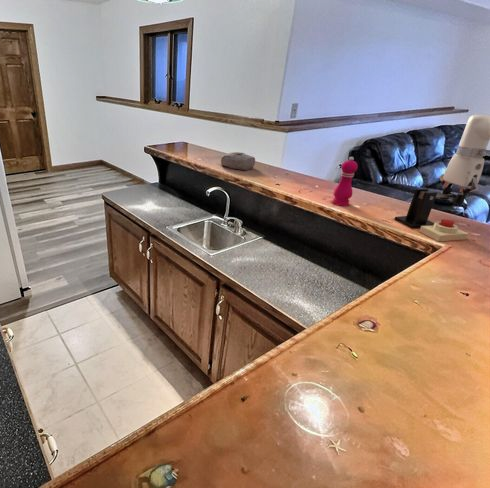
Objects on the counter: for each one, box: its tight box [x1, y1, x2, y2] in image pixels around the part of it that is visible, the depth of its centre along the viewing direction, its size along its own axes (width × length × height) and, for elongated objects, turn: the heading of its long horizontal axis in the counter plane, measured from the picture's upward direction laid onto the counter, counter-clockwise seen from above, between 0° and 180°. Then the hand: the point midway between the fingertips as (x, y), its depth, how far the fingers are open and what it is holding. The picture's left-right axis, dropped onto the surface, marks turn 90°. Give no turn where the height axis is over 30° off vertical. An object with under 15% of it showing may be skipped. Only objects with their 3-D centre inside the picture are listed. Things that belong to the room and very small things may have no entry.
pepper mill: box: [332, 156, 359, 207], centre depth 146 cm, size 7×7×20 cm
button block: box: [418, 220, 469, 242], centre depth 121 cm, size 11×8×4 cm
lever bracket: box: [393, 188, 438, 230], centre depth 128 cm, size 10×9×13 cm
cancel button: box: [440, 218, 455, 228], centre depth 120 cm, size 4×4×2 cm
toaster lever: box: [418, 191, 457, 200], centre depth 127 cm, size 14×5×2 cm, turn 99°
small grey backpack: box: [219, 151, 256, 171], centre depth 204 cm, size 15×8×20 cm
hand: (450, 201), depth 129 cm, fingers closed on toaster lever, 5 cm apart
